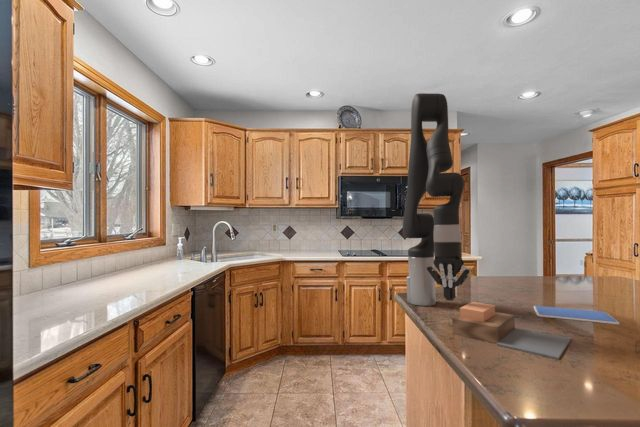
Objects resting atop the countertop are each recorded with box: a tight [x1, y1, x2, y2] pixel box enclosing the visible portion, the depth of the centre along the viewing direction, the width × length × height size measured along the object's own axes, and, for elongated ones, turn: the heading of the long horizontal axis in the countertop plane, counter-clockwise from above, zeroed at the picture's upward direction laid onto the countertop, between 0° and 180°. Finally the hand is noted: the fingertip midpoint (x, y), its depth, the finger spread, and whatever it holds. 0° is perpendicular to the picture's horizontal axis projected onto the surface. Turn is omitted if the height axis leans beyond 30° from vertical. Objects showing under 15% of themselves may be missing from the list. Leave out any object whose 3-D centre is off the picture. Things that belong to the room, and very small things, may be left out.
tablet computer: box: [533, 305, 621, 325], centre depth 99 cm, size 19×13×1 cm, turn 62°
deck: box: [452, 311, 516, 345], centre depth 86 cm, size 11×14×4 cm
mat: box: [496, 327, 572, 360], centre depth 78 cm, size 12×16×1 cm
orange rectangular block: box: [459, 301, 496, 322], centre depth 87 cm, size 6×9×2 cm, turn 134°
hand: (449, 300), depth 93 cm, fingers closed
